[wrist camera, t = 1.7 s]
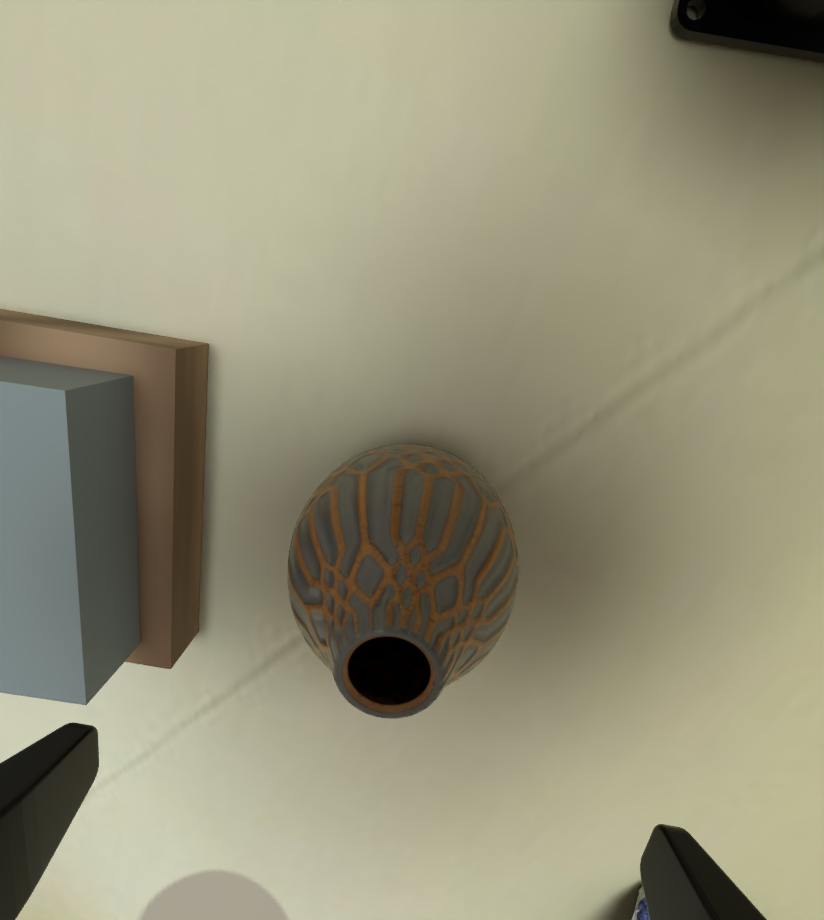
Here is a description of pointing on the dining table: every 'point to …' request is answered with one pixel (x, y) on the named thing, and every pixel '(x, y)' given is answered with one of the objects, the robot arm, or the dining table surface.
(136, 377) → the tower base
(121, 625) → the tower top
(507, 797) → the dining table surface
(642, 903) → the snack package
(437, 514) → the vase
